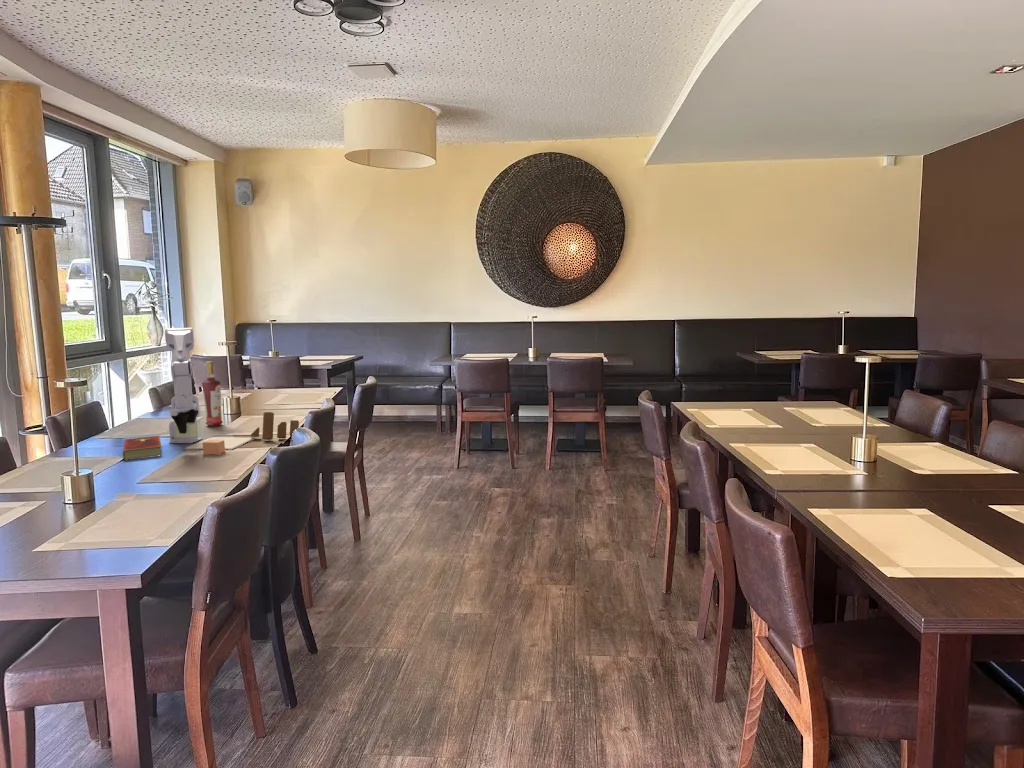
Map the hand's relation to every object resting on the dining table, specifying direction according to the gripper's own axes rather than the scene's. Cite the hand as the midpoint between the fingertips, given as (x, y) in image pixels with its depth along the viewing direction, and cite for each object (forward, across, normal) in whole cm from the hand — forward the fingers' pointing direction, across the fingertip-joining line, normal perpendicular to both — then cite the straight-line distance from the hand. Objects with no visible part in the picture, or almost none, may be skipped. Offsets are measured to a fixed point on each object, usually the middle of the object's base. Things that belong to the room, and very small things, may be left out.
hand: (186, 431), depth 249 cm
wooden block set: (+8, +23, -22) cm, 33 cm away
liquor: (+8, +48, +17) cm, 51 cm away
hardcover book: (+8, 0, +18) cm, 20 cm away
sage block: (+2, 0, 0) cm, 2 cm away
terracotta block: (+8, 0, -10) cm, 13 cm away
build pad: (+8, +14, -5) cm, 17 cm away
